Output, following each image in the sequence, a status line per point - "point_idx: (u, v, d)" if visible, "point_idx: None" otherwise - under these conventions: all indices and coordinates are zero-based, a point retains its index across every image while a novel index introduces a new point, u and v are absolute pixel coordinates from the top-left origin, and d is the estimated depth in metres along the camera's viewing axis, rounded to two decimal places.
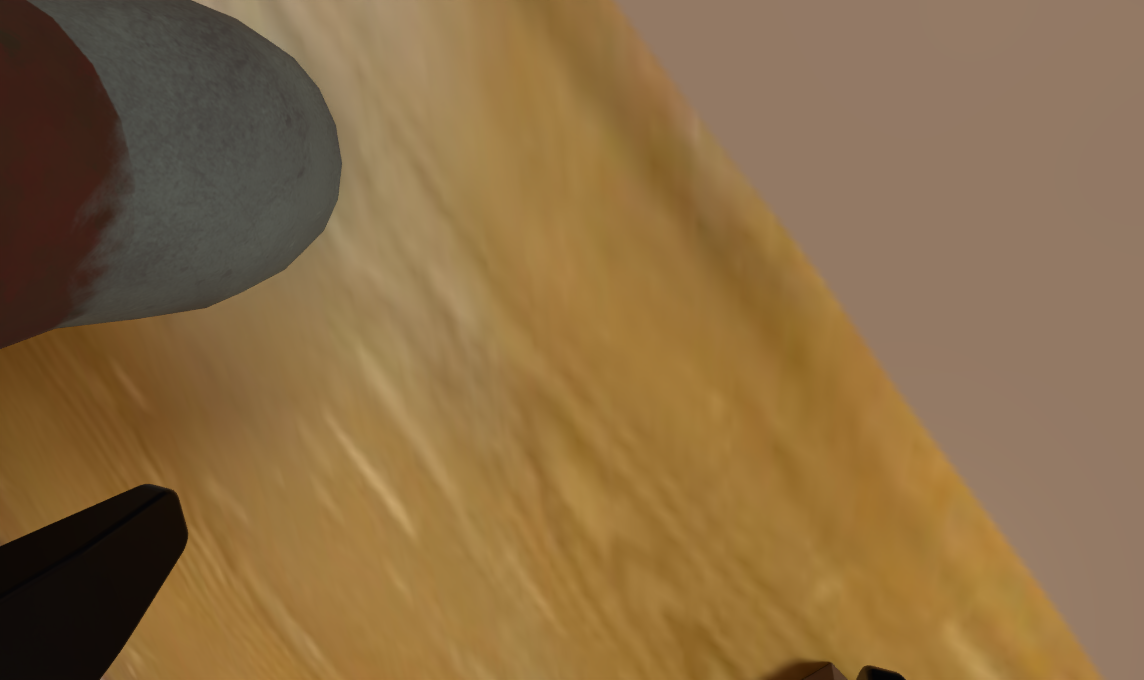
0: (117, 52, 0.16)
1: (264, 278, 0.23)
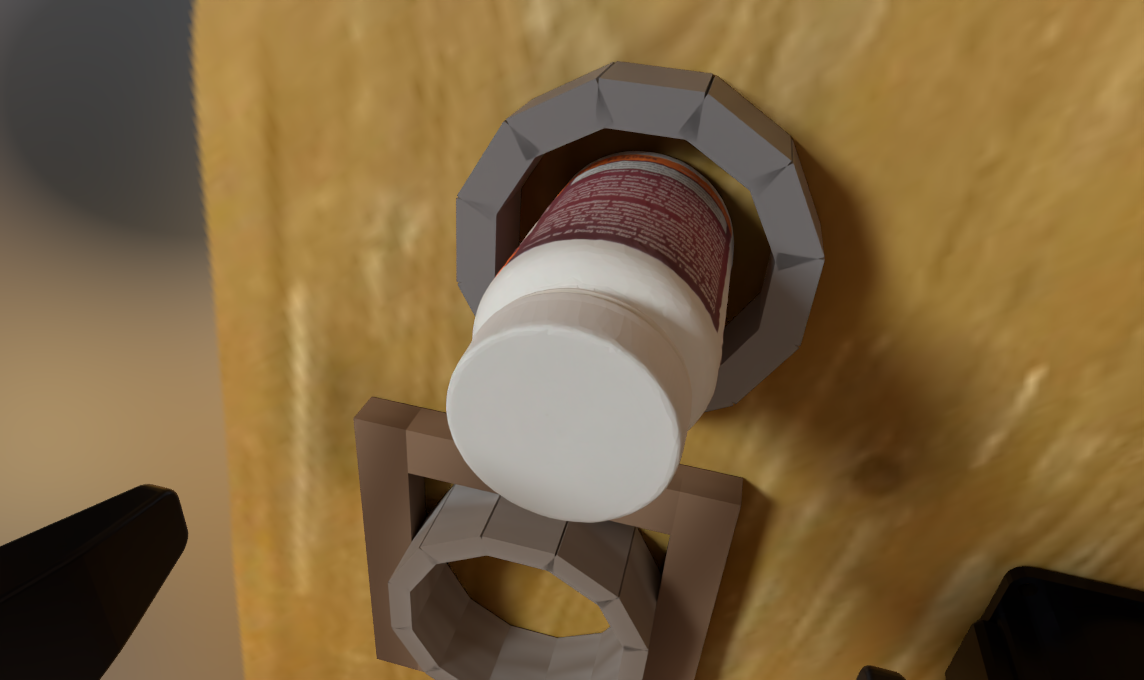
0: None
1: None
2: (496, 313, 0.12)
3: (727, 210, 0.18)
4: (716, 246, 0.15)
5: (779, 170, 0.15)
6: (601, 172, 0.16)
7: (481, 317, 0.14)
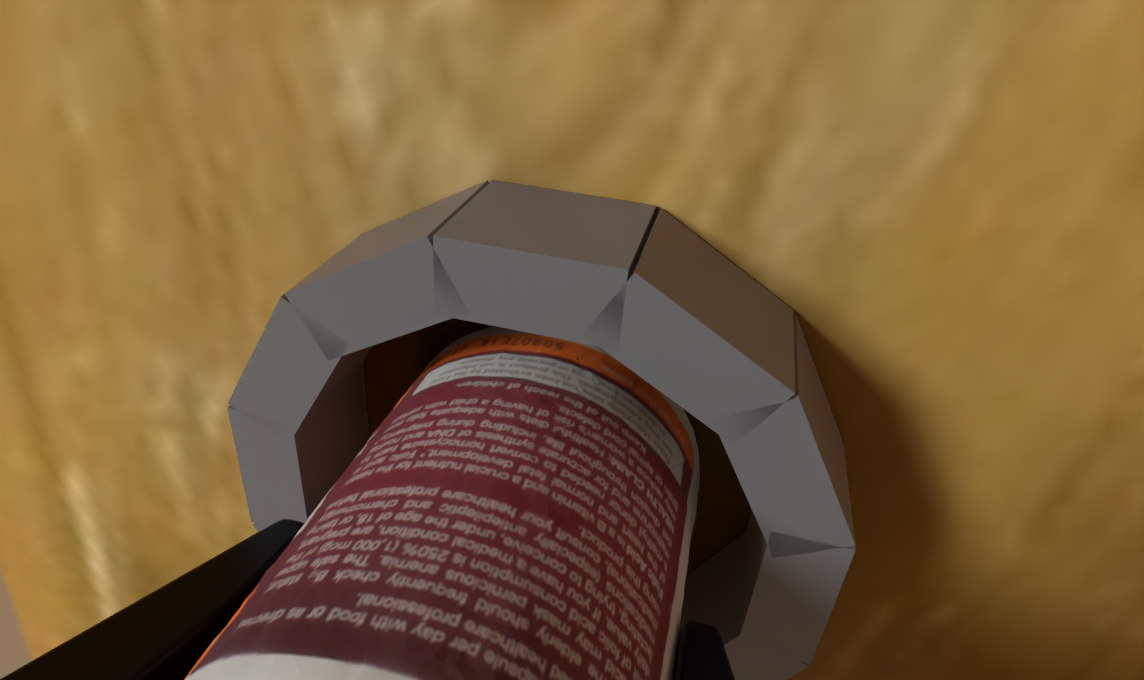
0: None
1: None
2: None
3: (687, 420, 0.11)
4: (655, 545, 0.08)
5: (772, 407, 0.08)
6: (459, 382, 0.09)
7: None
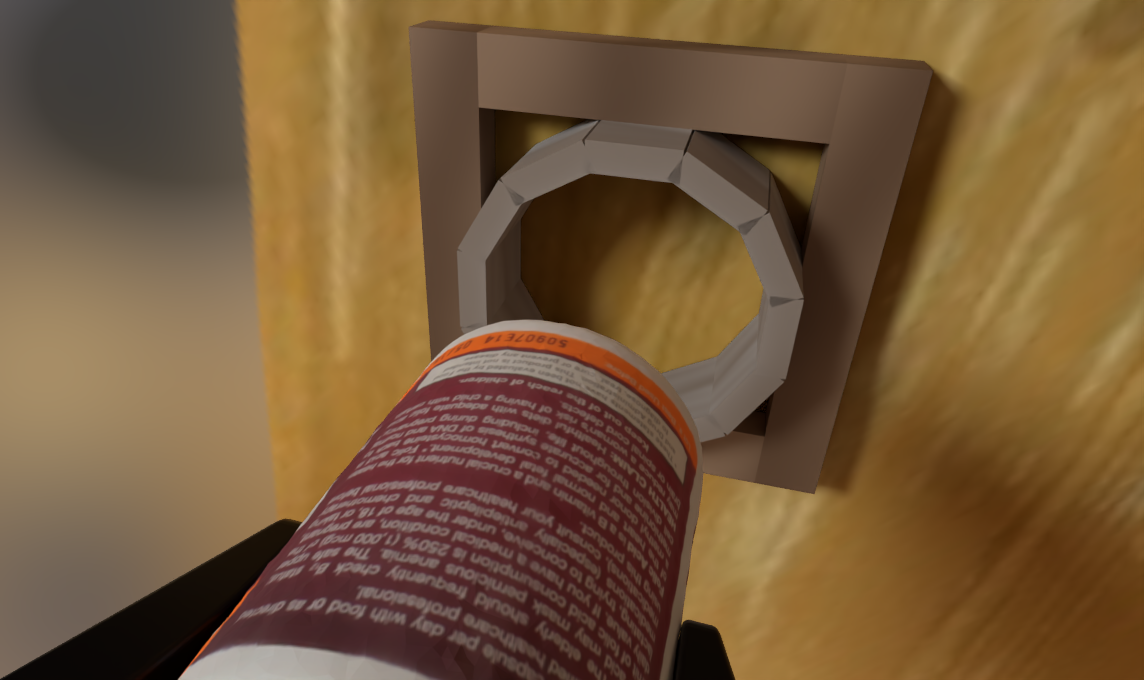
0: None
1: None
2: None
3: (691, 419, 0.11)
4: (657, 543, 0.08)
5: None
6: (462, 378, 0.09)
7: None
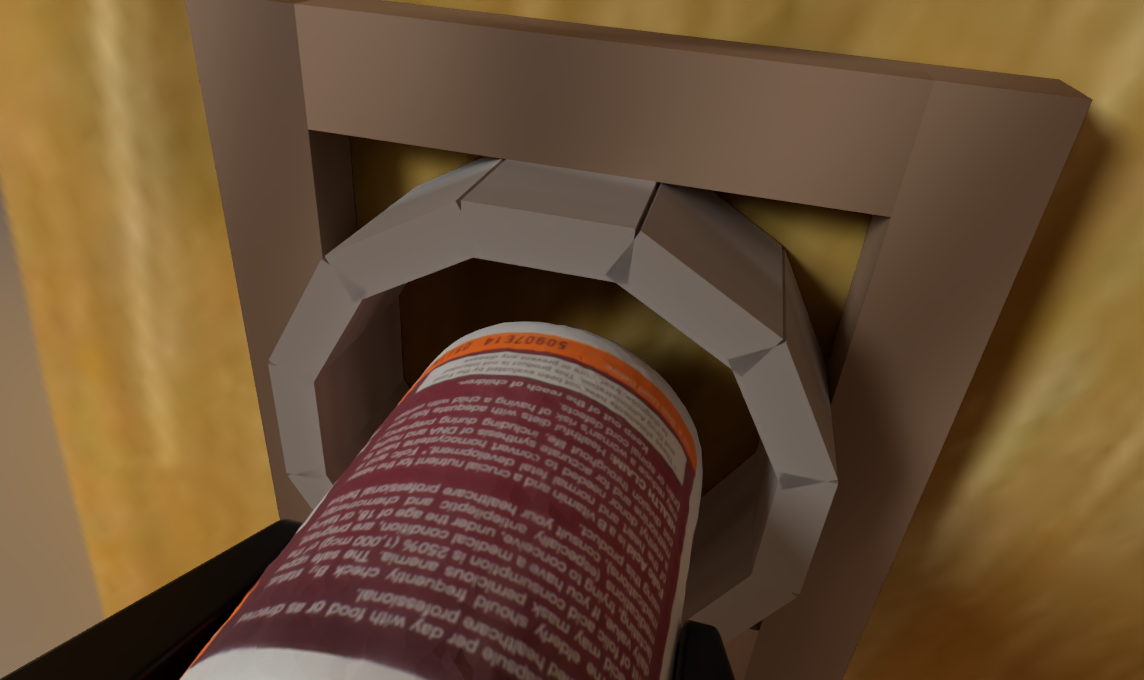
0: None
1: None
2: None
3: (690, 421, 0.11)
4: (656, 545, 0.08)
5: None
6: (462, 380, 0.09)
7: None
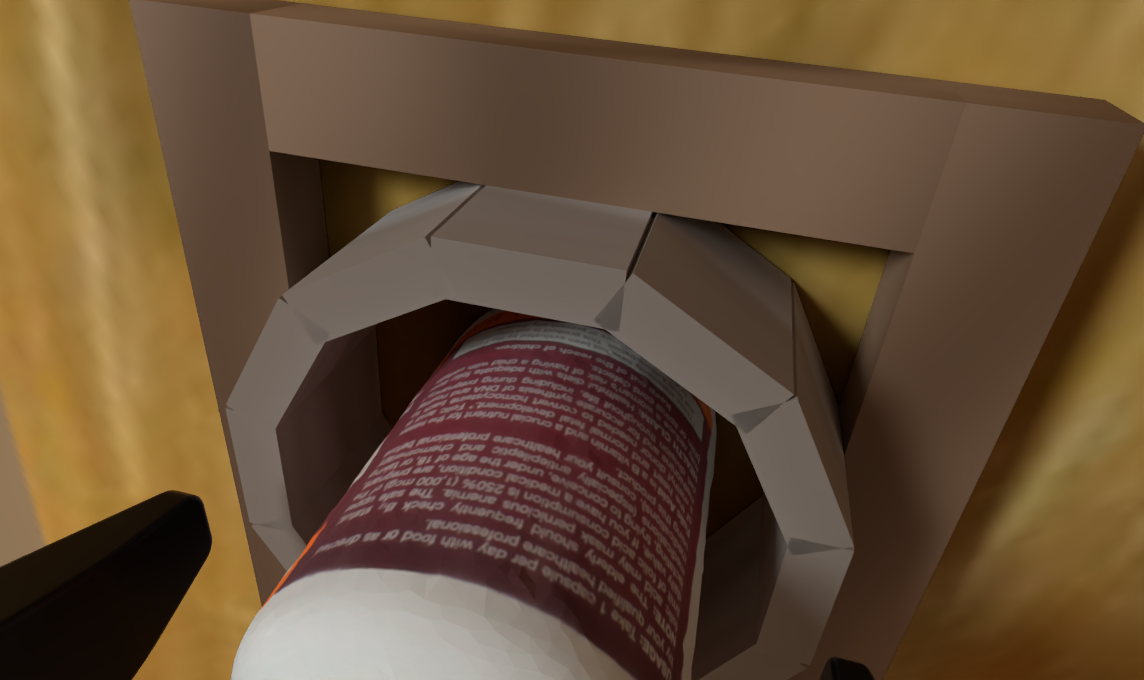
0: None
1: None
2: None
3: None
4: (682, 490, 0.09)
5: None
6: (498, 345, 0.10)
7: None
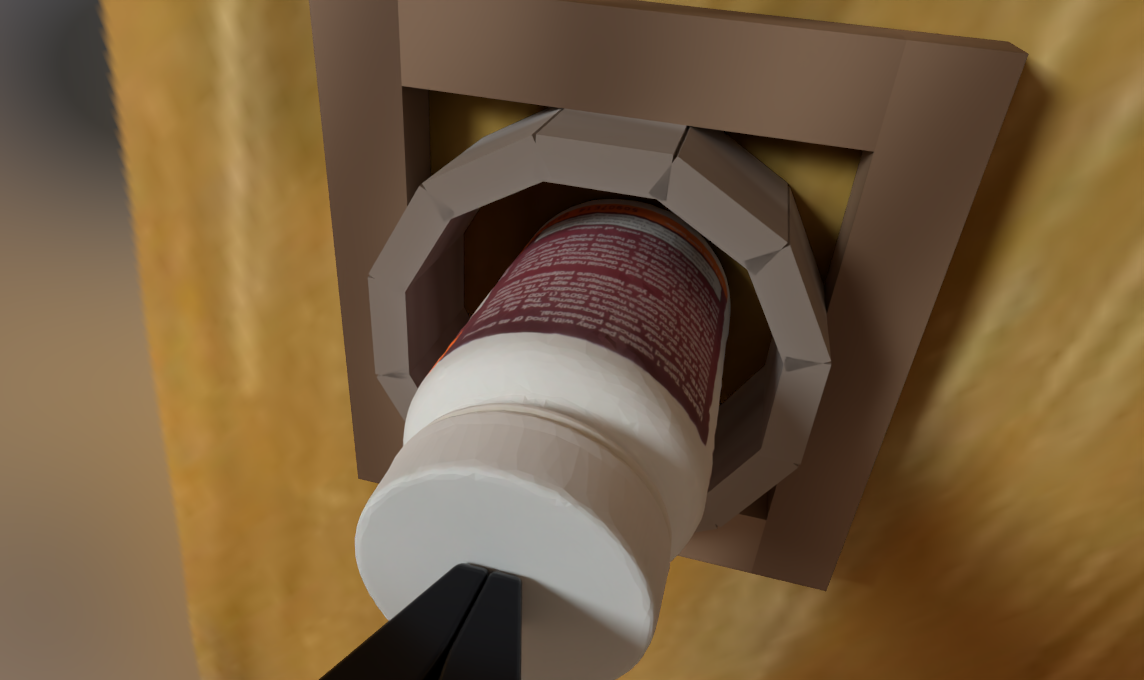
0: None
1: None
2: (419, 434, 0.10)
3: (722, 268, 0.15)
4: (707, 322, 0.13)
5: None
6: (570, 228, 0.14)
7: (410, 424, 0.11)
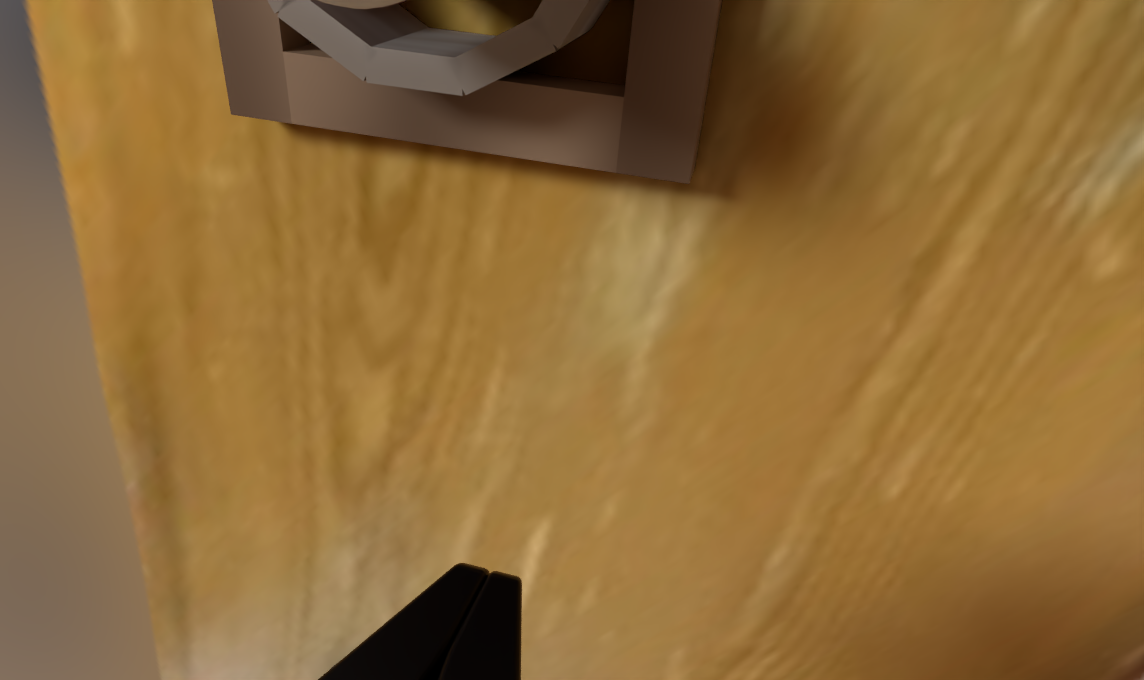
0: None
1: None
2: None
3: None
4: None
5: None
6: None
7: None
